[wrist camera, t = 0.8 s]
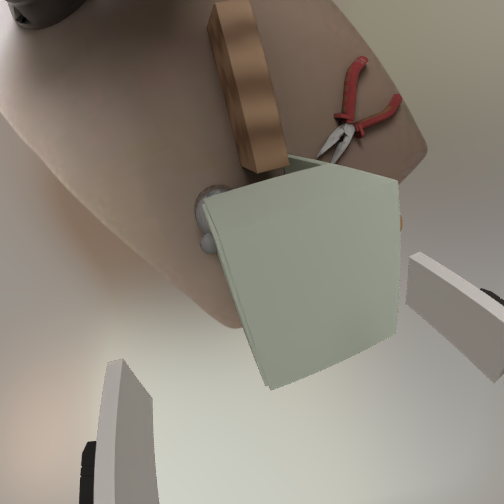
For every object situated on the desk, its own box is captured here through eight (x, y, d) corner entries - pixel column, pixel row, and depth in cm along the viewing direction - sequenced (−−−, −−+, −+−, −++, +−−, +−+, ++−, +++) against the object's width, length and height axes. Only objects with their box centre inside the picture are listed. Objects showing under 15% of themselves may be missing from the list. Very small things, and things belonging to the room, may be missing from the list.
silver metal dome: (188, 193, 40) (189, 198, 36) (235, 178, 41) (240, 182, 37) (202, 237, 43) (205, 246, 39) (246, 222, 44) (253, 230, 40)
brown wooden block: (206, 27, 31) (215, 2, 23) (233, 23, 31) (248, -2, 23) (241, 165, 40) (257, 173, 32) (267, 159, 41) (289, 165, 33)
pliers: (292, 140, 41) (299, 141, 38) (356, 54, 37) (365, 51, 35) (343, 182, 46) (351, 185, 43) (397, 99, 42) (406, 99, 40)
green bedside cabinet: (185, 183, 39) (196, 243, 18) (287, 154, 41) (397, 180, 20) (217, 279, 46) (255, 395, 25) (306, 248, 48) (395, 333, 26)
